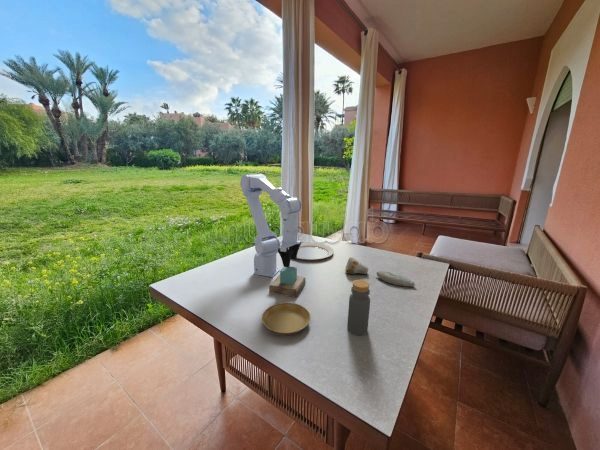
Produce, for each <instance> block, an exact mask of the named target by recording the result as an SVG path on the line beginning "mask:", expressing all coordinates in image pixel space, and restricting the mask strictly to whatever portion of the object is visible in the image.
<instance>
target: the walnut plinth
mask: <svg viewBox="0 0 600 450" xmlns="http://www.w3.org/2000/svg"><path fill="white" fill-rule="evenodd" d="M306 280H307V279H306V277H305V276H300V275H297V280H296V281H295V282H294V284H293V285H289V284H283V283H280V274H279V275H278V276H276V277H275V279H274V280H273V281H272V282H271V283H270V284H269V286H268V292H269V293H270V294H276V295H280V296H287V297H293V298H298V296H299V295H300V293H301V291H302V290H303V288H304V287H305V285H306Z"/></svg>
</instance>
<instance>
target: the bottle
mask: <svg viewBox="0 0 600 450" xmlns="http://www.w3.org/2000/svg"><path fill="white" fill-rule="evenodd" d="M350 289H351V291H350V292H351V294H350V295H349V299H348V300H349V301H348V311H347V313H348V314H347V326H346V327H347V330H348V332H349V333H351V335H355V336H365V335H366V334H367V333H368V328H369V326H368V325H369V318H370V308H371V298H370V296H369V295H370V293H371V292H370V291H371V290H370V283H369V282H368V281H367V280H363V279H354V280H353V281H352V286H351V287H350Z"/></svg>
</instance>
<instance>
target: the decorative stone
mask: <svg viewBox="0 0 600 450" xmlns="http://www.w3.org/2000/svg"><path fill="white" fill-rule="evenodd" d="M376 276H377V277H378V278H379V279H380V280H382V281H383V282H386V283H388V284H392V285H395V286H401V287H409V288H410V287H411V288H413V287H415V285H416V284H415V282H414V281H412V280H410V278H408V277H405V276H404V275H402V274H398V273H395V272H391V271H387V270H379V271H376Z"/></svg>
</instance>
